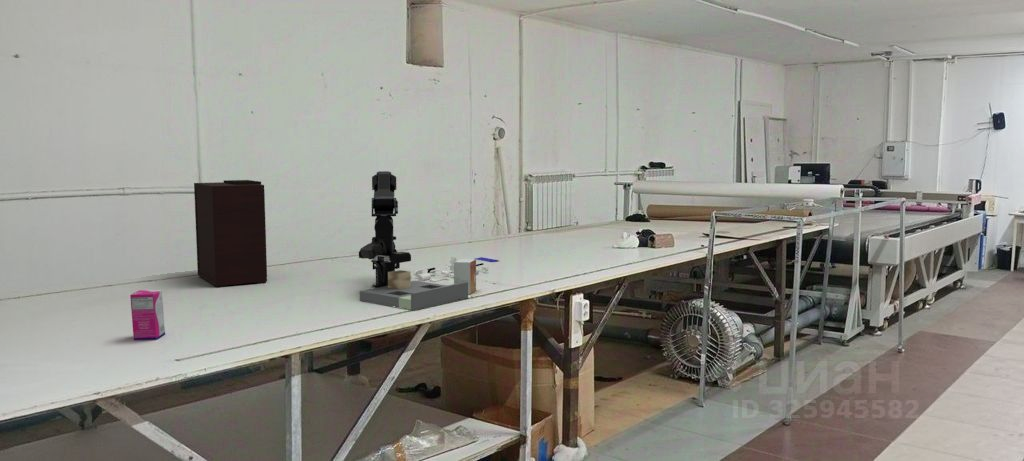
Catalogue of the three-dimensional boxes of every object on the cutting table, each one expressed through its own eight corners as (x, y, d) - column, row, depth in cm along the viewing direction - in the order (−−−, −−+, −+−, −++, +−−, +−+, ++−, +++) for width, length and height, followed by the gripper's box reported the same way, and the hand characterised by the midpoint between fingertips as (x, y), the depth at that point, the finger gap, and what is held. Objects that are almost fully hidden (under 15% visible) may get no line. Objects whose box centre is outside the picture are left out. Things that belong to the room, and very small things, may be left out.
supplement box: (141, 334, 193) (139, 289, 192) (165, 334, 193) (163, 289, 192) (132, 340, 187) (129, 294, 186) (157, 339, 188) (155, 293, 186)
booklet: (433, 264, 314) (433, 262, 314) (481, 258, 330) (481, 257, 330) (450, 268, 304) (450, 266, 304) (499, 262, 320) (499, 260, 320)
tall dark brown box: (215, 287, 257) (211, 183, 254) (197, 276, 279) (193, 180, 275) (272, 282, 268) (269, 182, 264) (250, 272, 290) (247, 179, 286)
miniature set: (472, 267, 300) (495, 275, 293) (403, 283, 275) (426, 293, 267) (473, 251, 299) (496, 259, 291) (404, 266, 273) (427, 275, 266)
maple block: (388, 287, 242) (387, 272, 242) (399, 285, 246) (399, 270, 246) (399, 289, 239) (399, 273, 239) (410, 287, 243) (410, 271, 243)
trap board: (359, 300, 236) (359, 284, 236) (415, 289, 255) (414, 274, 255) (413, 310, 222) (413, 293, 222) (468, 297, 241) (468, 282, 241)
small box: (470, 294, 247) (470, 262, 246) (453, 294, 248) (453, 261, 247) (476, 290, 255) (476, 258, 254) (460, 289, 256) (460, 258, 255)
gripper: (345, 233, 244) (346, 282, 246) (385, 238, 233) (386, 288, 234) (371, 230, 253) (372, 277, 254) (412, 234, 242) (412, 283, 243)
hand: (384, 282), depth 246 cm, fingers closed
